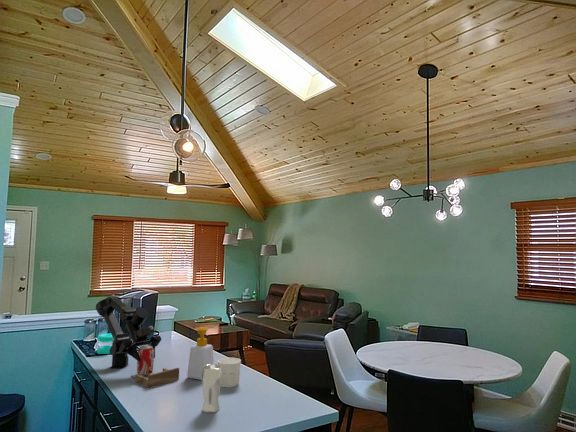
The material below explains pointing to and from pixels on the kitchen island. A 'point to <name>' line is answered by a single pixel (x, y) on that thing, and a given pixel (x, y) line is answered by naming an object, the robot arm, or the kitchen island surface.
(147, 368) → the soda can
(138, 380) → the shelf lane
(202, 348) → the soap bottle
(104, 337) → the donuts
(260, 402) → the kitchen island surface
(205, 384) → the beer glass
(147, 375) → the mat
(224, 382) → the cup
